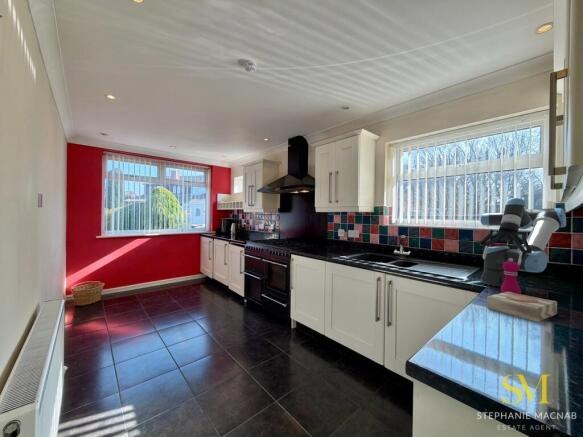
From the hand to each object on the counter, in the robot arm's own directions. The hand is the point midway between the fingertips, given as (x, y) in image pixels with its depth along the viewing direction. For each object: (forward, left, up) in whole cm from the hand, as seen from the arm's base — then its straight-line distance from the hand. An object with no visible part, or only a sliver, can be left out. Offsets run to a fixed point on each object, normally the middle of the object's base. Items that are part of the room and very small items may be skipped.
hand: (500, 261), depth 122 cm
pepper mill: (+2, +5, -18) cm, 19 cm away
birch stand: (+17, +14, -18) cm, 29 cm away
